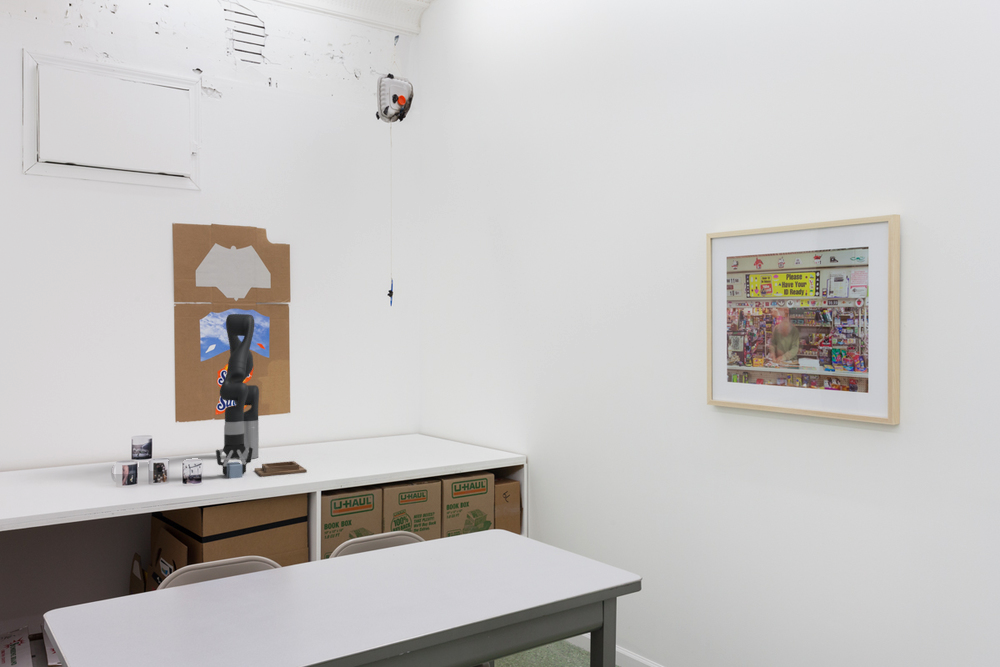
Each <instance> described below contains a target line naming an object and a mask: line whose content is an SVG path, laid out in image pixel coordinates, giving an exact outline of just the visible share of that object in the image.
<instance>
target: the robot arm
mask: <svg viewBox="0 0 1000 667" xmlns="http://www.w3.org/2000/svg"><path fill="white" fill-rule="evenodd" d="M225 328H226V329H225V330H226V334H227V339H228V345H229V352H230V355H229V358H228V362H227V370H226V374H225V378H224V380H223V382H222V383H221V385H220V388H219V396H220V399H222V400H224V401H234V403H235V405H230V406H227V407H225V409H224V426H223V438H224V439H223V448H222V449H216V450H215V455H216V462H217V465H218V466H221V467H222V474H223V475H224V476H225V477H228V476H227V466H226V465H227V463H229V461H230V460H231V459H234V458H235V459H239V460H240V463H241V464H242V475H244V474H245V473H246V472H247V465H248V464H249V463H251V462H252V459H256V458H259V447H260V446H259V402H260V401H259V400H260V389H259V386H258V385H255V384H253V385H251V384H250V385H249V384H248V385H247V383H245V382H244V381H245V380H246V379H247V378H248V376H249V375H250V374H252V371H253V368H254V358H253V353H252V352H251V350H250V348H251V345H252V340H253V336H254V334H255V333H254V332H255V318H254V316H253V314H246V313H230V314H228V315H227V317H226V319H225ZM239 337H243V339H242V341H241V340H240V338H239ZM245 406H250V408H249V409H248V410H246V411H245ZM223 453H224V454H225V457H224V459H223V461H222V458H221V456H222V454H223Z"/></svg>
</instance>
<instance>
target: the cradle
mask: <svg viewBox="0 0 1000 667" xmlns="http://www.w3.org/2000/svg"><path fill="white" fill-rule="evenodd" d="M254 472H256V473H257V475H258V476H259V477H261V478H262V477H272V476H273V477H274V476H281V475H282V476H284V475H292V474H293V475H294V474H304V473H307V469H306V468H304V467H303V466H302V465H300V464H299V463H297V462H296V461H294V460H289V461H282V462H281V461H279V462H270V463H267V462H266V463H261V467H256V468H254Z"/></svg>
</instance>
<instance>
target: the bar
mask: <svg viewBox="0 0 1000 667" xmlns="http://www.w3.org/2000/svg"><path fill="white" fill-rule="evenodd" d="M226 466H227V476H226V477H228V478H229V479H239V478H243V474H242V463H241V462H239V461H233V462H232V461H231V462H229V461H228V463H227V465H226Z"/></svg>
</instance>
